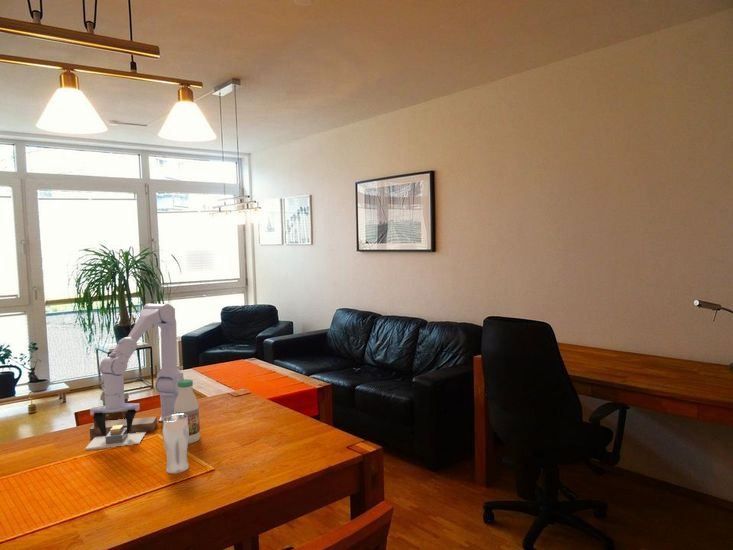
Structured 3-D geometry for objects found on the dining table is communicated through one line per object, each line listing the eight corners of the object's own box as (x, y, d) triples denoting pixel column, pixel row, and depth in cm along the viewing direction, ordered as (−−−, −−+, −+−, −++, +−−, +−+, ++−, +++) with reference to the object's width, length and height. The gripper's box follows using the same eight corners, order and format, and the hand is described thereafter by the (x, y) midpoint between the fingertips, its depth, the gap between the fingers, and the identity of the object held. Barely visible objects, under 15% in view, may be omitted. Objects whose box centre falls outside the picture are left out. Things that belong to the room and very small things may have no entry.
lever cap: (127, 434, 165) (127, 423, 165) (122, 442, 158) (121, 430, 158) (111, 436, 164) (111, 424, 164) (105, 444, 157) (105, 432, 157)
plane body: (157, 424, 176) (156, 409, 176) (153, 431, 169) (152, 415, 169) (96, 430, 172) (95, 415, 171) (90, 437, 165) (89, 421, 165)
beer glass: (165, 476, 134) (163, 423, 133) (163, 467, 140) (160, 416, 140) (192, 471, 137) (189, 418, 137) (188, 461, 143) (186, 411, 143)
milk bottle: (169, 443, 158) (167, 382, 157) (187, 435, 165) (184, 376, 164) (188, 446, 155) (185, 384, 154) (205, 437, 162) (202, 378, 161)
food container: (94, 419, 184) (92, 393, 183) (109, 414, 189) (108, 389, 188) (115, 424, 178) (113, 397, 177) (130, 419, 183) (128, 392, 183)
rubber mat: (146, 433, 167) (146, 431, 167) (139, 444, 158) (139, 442, 158) (95, 438, 164) (95, 436, 164) (85, 450, 154) (85, 448, 154)
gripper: (86, 398, 155) (88, 440, 155) (135, 394, 158) (137, 435, 158) (93, 392, 161) (95, 432, 162) (140, 388, 165) (142, 427, 165)
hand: (116, 433), depth 161 cm, fingers open, 7 cm apart
